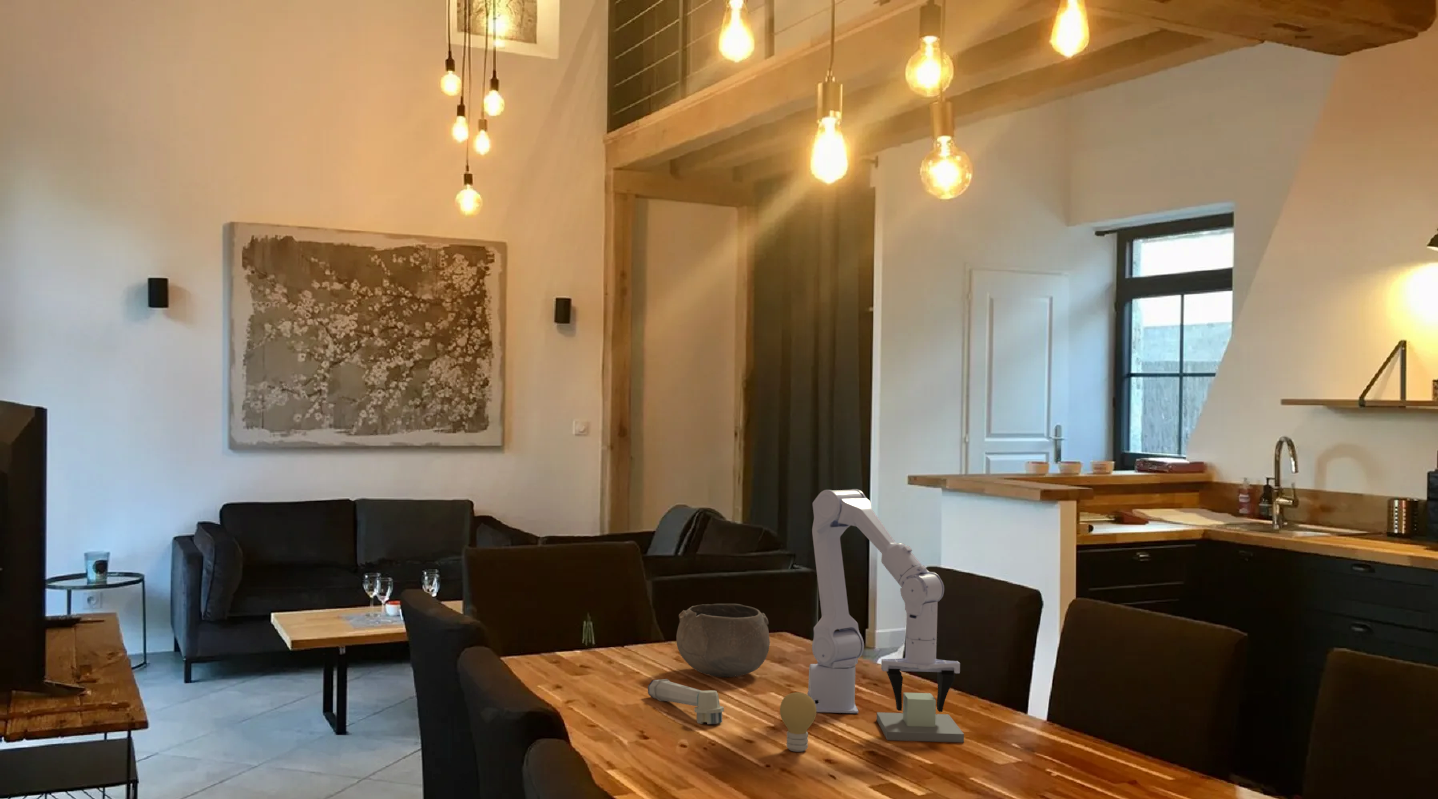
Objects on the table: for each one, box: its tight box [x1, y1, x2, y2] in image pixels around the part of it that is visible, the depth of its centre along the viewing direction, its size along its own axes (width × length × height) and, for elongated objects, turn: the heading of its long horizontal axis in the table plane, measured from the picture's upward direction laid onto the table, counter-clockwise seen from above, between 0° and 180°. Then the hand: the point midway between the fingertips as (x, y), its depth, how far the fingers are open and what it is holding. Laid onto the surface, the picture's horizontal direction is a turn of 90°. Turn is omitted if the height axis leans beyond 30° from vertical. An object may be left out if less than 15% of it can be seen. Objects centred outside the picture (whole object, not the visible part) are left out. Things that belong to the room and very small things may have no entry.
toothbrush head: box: [647, 678, 725, 725], centre depth 226 cm, size 5×7×25 cm
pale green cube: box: [902, 692, 937, 727], centre depth 216 cm, size 5×5×5 cm
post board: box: [876, 711, 965, 743], centre depth 216 cm, size 14×14×5 cm
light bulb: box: [779, 691, 817, 753], centre depth 201 cm, size 6×6×10 cm
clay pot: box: [676, 603, 771, 678], centre depth 259 cm, size 21×21×15 cm
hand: (919, 710), depth 216 cm, fingers open, 7 cm apart
